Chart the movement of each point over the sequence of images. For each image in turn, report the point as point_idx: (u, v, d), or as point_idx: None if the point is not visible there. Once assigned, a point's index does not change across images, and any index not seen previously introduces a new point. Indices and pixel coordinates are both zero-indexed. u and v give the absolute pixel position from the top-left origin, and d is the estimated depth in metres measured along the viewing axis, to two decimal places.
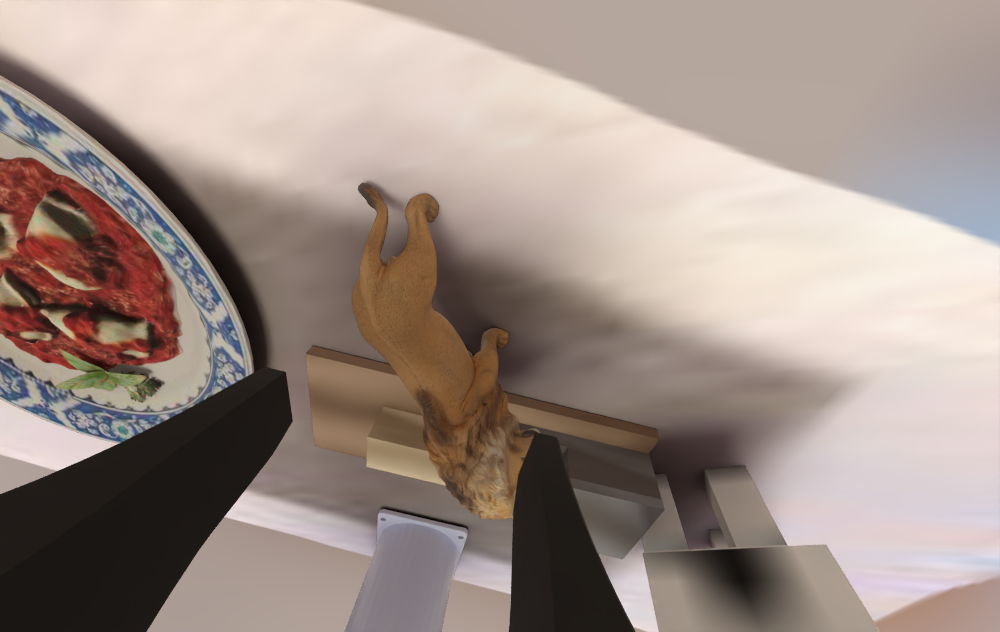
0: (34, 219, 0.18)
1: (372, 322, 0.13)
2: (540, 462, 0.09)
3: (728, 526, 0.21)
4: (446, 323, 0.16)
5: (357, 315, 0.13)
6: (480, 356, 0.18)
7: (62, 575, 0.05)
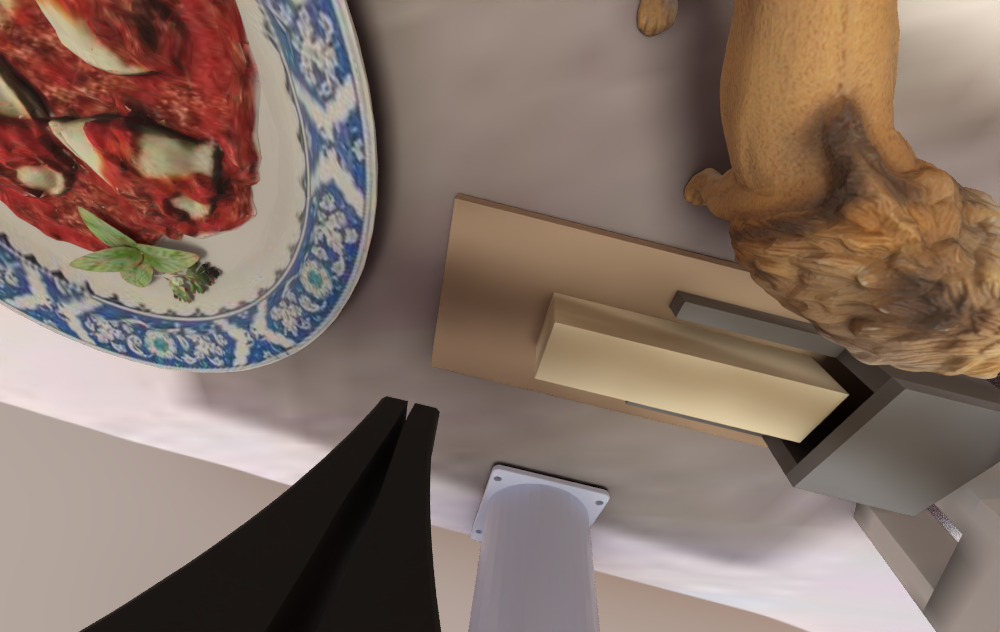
0: None
1: None
2: (404, 430, 0.09)
3: None
4: None
5: None
6: None
7: (286, 626, 0.05)
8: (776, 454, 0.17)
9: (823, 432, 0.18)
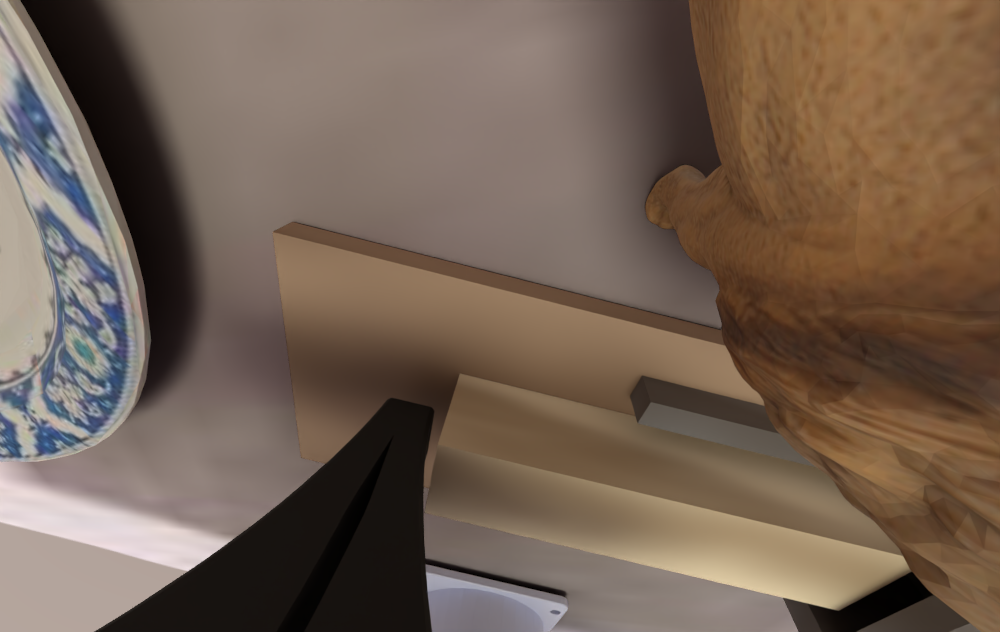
0: None
1: None
2: (399, 428, 0.09)
3: None
4: None
5: None
6: None
7: (295, 628, 0.05)
8: (793, 611, 0.11)
9: None
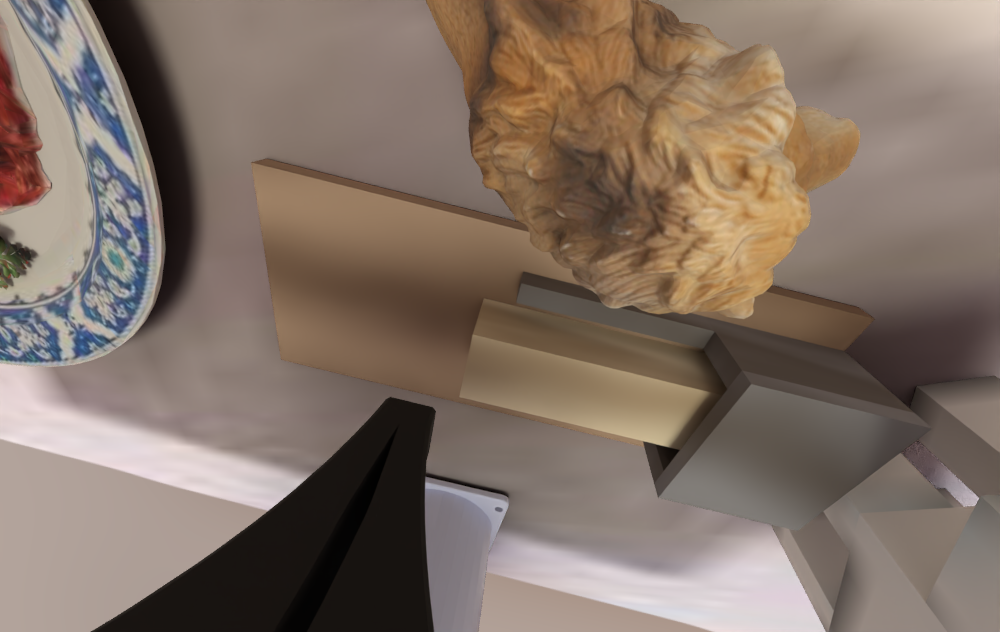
0: None
1: None
2: (400, 429, 0.09)
3: None
4: None
5: None
6: None
7: (293, 628, 0.05)
8: (650, 459, 0.15)
9: None
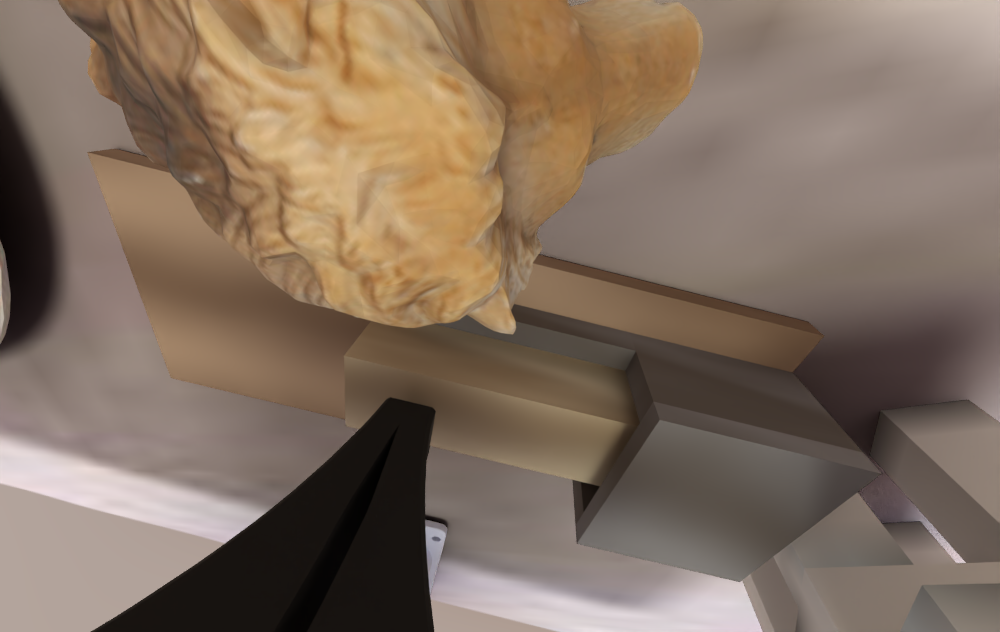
0: None
1: None
2: (400, 429, 0.09)
3: (991, 514, 0.10)
4: None
5: None
6: None
7: (293, 628, 0.05)
8: (575, 495, 0.13)
9: None
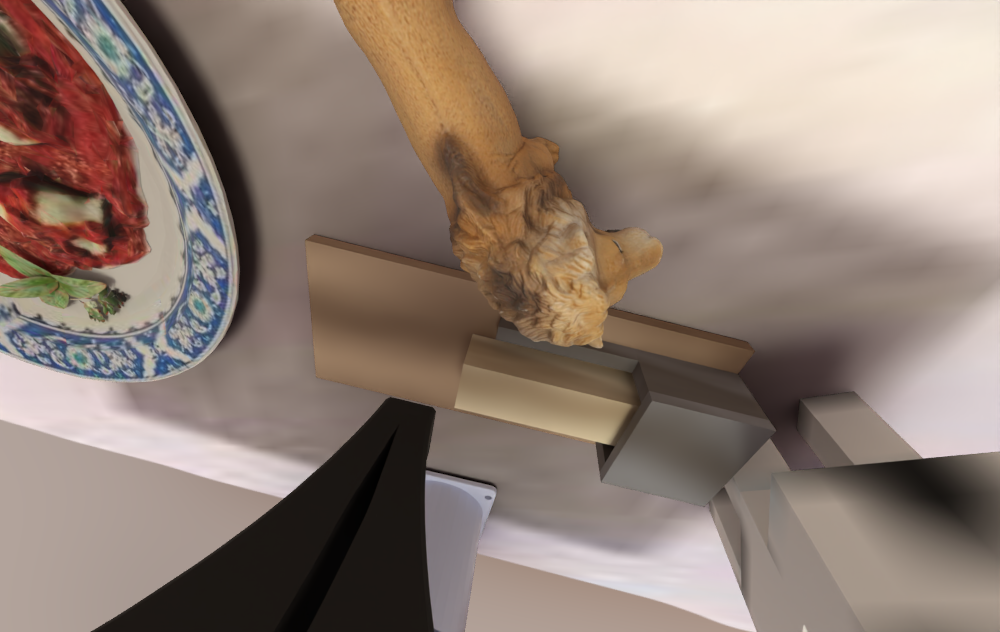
0: None
1: None
2: (400, 429, 0.09)
3: (849, 458, 0.17)
4: None
5: None
6: (527, 139, 0.12)
7: (293, 628, 0.05)
8: (598, 454, 0.20)
9: None
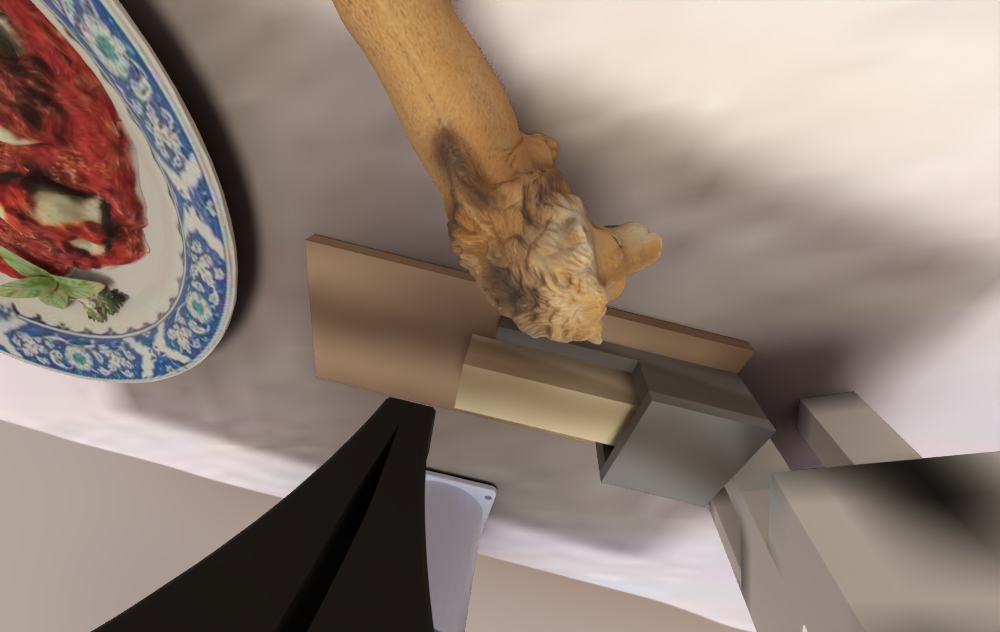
0: None
1: None
2: (400, 429, 0.09)
3: (849, 458, 0.17)
4: None
5: None
6: None
7: (293, 628, 0.05)
8: (598, 454, 0.20)
9: None
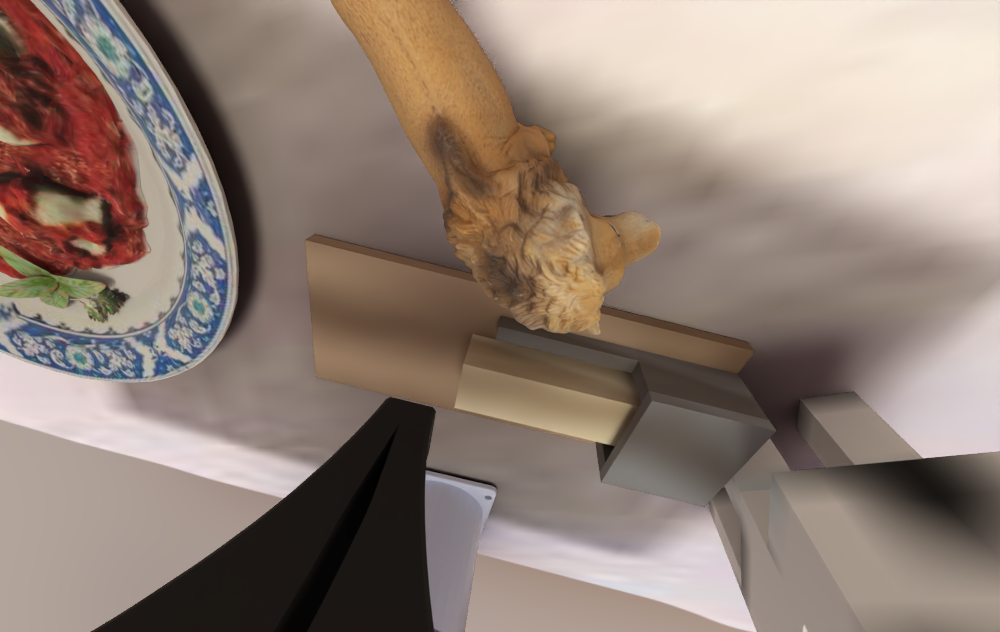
0: None
1: None
2: (400, 429, 0.09)
3: (849, 458, 0.17)
4: None
5: None
6: (522, 125, 0.12)
7: (293, 628, 0.05)
8: (598, 454, 0.20)
9: None
